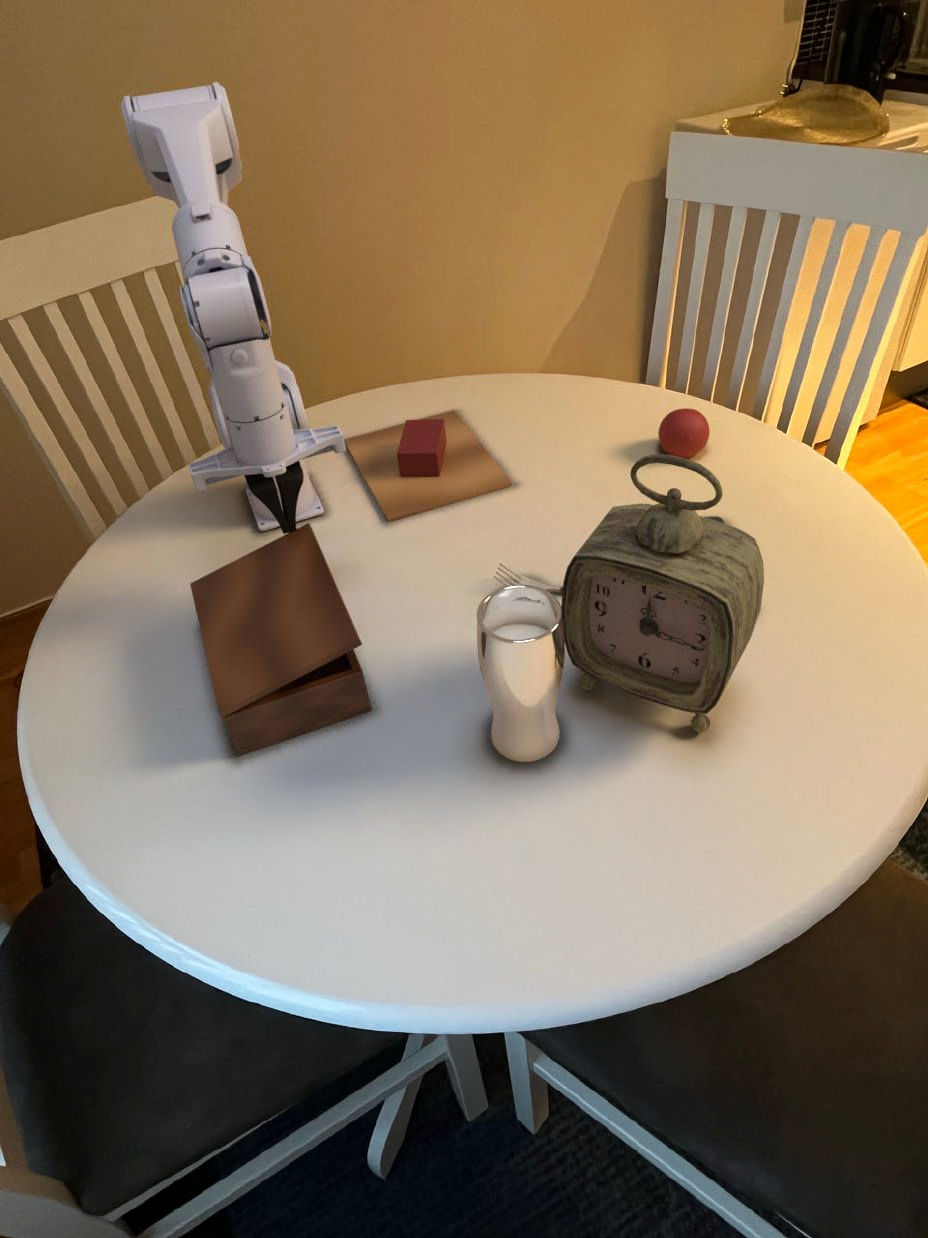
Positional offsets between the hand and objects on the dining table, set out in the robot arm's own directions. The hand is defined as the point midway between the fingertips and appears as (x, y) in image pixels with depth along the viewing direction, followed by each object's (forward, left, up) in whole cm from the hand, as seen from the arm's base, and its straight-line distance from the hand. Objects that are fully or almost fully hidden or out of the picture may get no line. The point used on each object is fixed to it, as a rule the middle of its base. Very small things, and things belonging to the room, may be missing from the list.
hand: (288, 526), depth 84 cm
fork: (+13, +25, -9) cm, 30 cm away
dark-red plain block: (-18, +20, -8) cm, 28 cm away
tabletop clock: (+28, +26, -9) cm, 40 cm away
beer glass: (+28, +13, -9) cm, 32 cm away
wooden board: (-18, +20, -9) cm, 28 cm away
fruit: (-4, +49, -9) cm, 50 cm away
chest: (+10, -5, -9) cm, 14 cm away
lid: (+10, -4, -2) cm, 11 cm away
